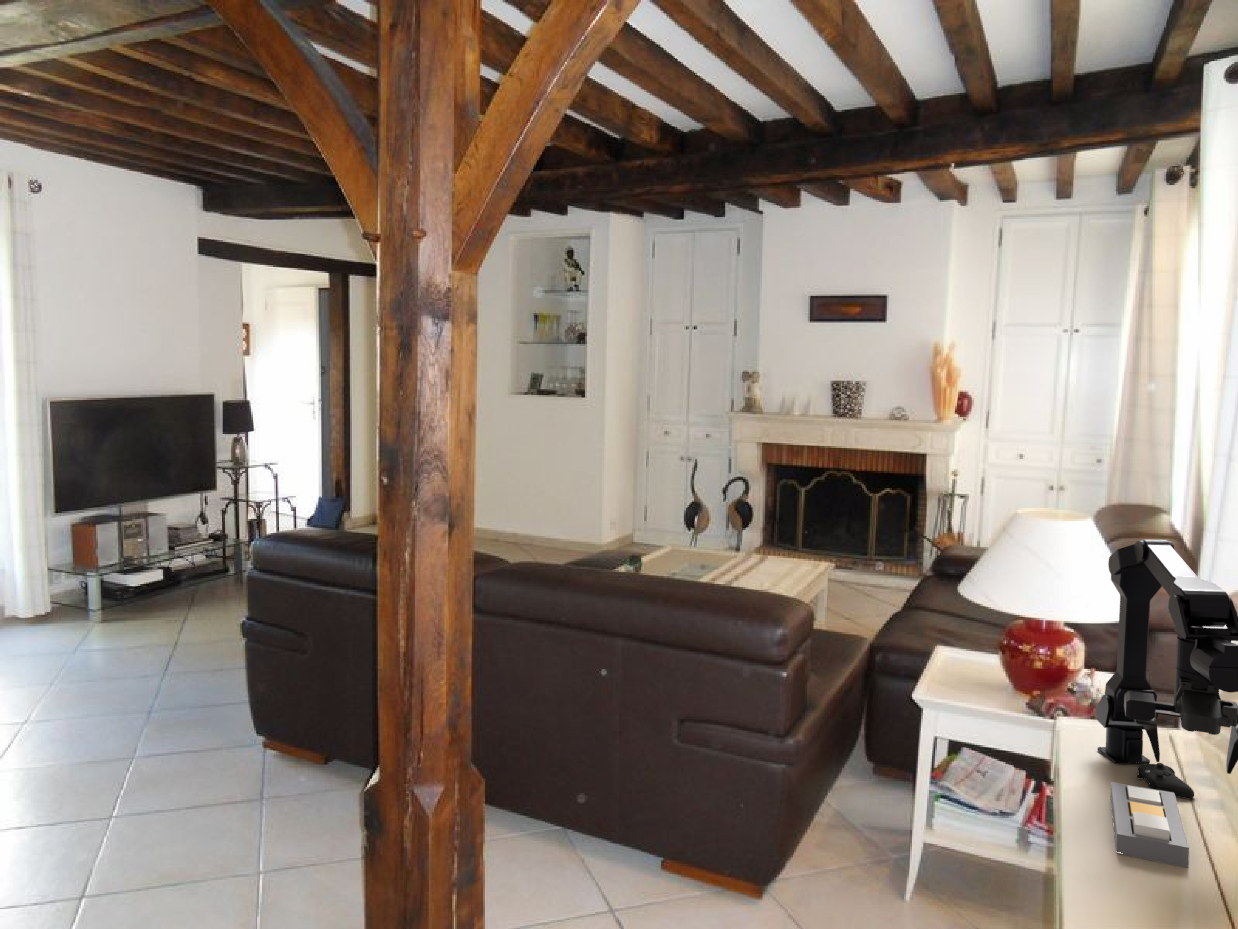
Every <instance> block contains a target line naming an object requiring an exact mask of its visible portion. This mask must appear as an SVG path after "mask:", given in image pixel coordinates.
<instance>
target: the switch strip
mask: <svg viewBox="0 0 1238 929" xmlns="http://www.w3.org/2000/svg"><path fill="white" fill-rule="evenodd" d="M1127 786H1133V787H1139V788H1145V789H1150V788H1149V787H1143V786H1136V785H1131V784H1126V783H1125V784H1124V783H1119V782H1114V781H1111V782H1110V796H1109V797H1110V808H1112V809H1111V817H1112V816H1113V818H1112V824H1113V823H1114V827H1113V833H1114V832H1115V836H1114V843H1115V842H1116V845H1115V852H1116V851H1117V852H1121V853H1123V854H1125V855H1124V856H1128V855H1130V856H1129V857H1133V858H1138V859H1143V860H1147V861H1153V862H1159V863H1164V864H1168V865H1173V866H1176V867H1177V866H1179V867H1183V868H1189V858H1190V856H1189V855H1190V846H1189V843H1188V839H1187V834H1186V832H1185V827H1184V824H1183V820H1182V815H1181V813H1180V809H1179V806H1178V802H1177V796H1175V793H1173V792H1167V791H1161V790H1157V791H1159V795H1160V799H1161V805H1155V804H1150V803H1144V802H1138V801H1132V800H1127ZM1151 790H1155V789H1151ZM1130 801H1131V802H1137V803H1143V804H1148V805H1154V806H1160V807H1162V808H1163V812H1164V816H1165V817H1167V821H1168V825H1169V830H1170V837H1169V841H1167V840H1162V839H1157V838H1152V837H1146V836H1141V835H1136V834H1134V832H1133V825H1132V818H1133V817H1132V816H1130V814H1129V810H1130ZM1123 854H1122V855H1123Z"/></svg>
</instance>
